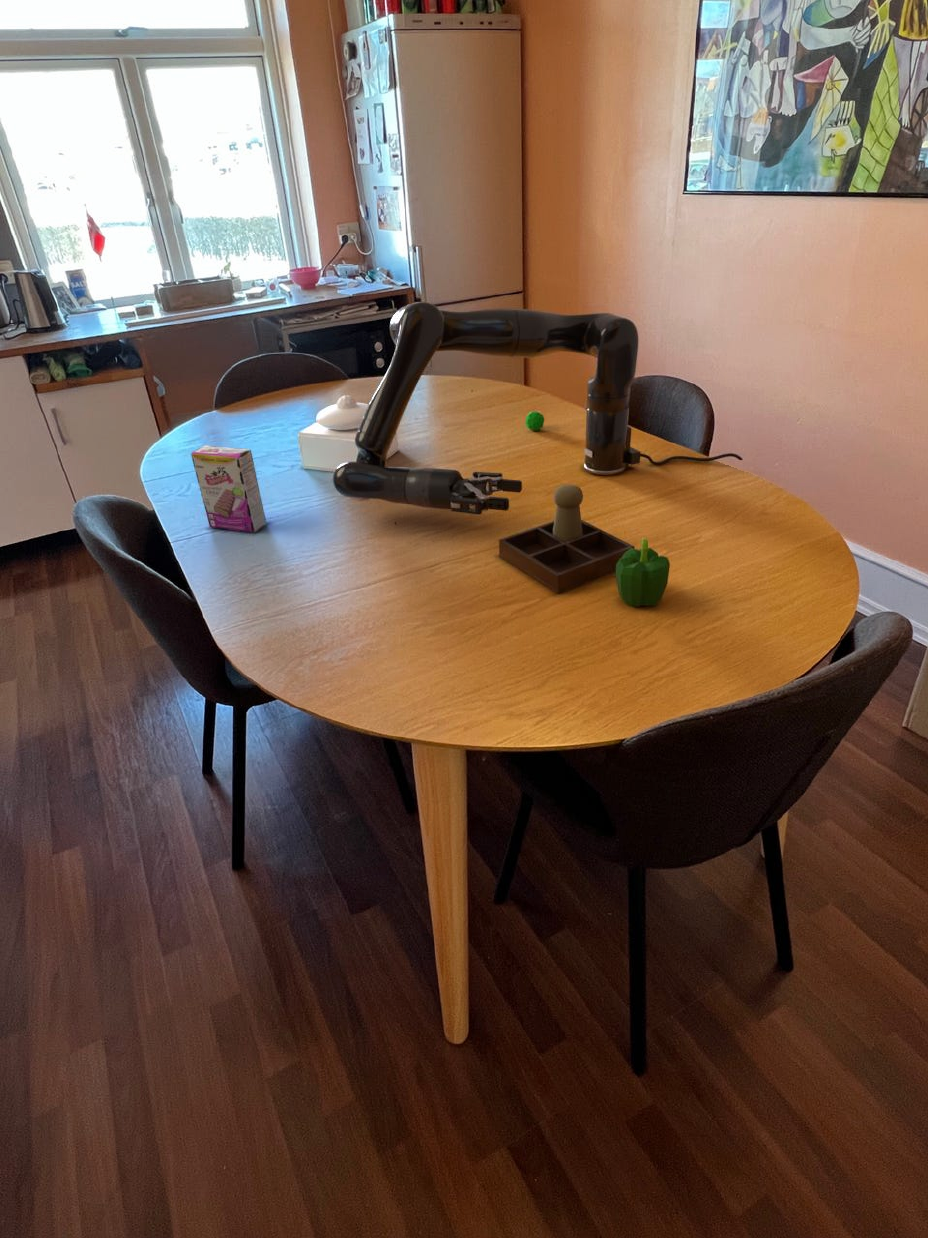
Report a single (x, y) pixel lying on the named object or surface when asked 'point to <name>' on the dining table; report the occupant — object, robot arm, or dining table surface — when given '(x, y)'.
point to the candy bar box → (229, 488)
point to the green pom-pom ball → (534, 421)
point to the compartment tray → (563, 555)
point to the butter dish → (334, 436)
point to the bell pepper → (642, 576)
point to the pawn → (568, 512)
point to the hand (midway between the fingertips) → (515, 495)
